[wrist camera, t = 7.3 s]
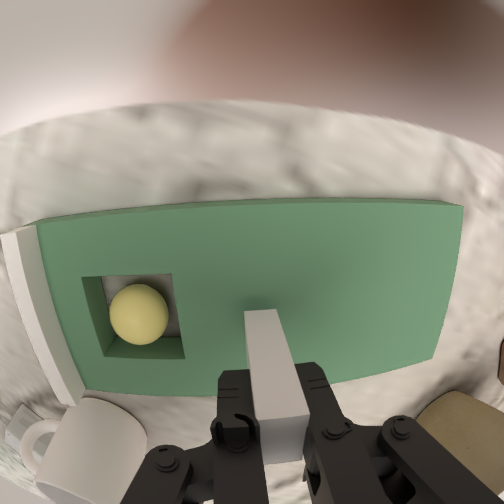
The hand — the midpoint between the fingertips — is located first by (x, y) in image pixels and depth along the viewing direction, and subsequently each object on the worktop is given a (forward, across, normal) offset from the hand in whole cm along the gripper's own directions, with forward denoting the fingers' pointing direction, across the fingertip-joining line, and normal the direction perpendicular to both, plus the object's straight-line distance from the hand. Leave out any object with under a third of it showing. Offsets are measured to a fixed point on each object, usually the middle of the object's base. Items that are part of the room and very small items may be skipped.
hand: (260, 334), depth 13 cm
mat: (+5, 0, 0) cm, 5 cm away
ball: (+3, -7, 0) cm, 7 cm away
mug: (+5, -16, -13) cm, 21 cm away
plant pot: (+5, +22, -19) cm, 29 cm away
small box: (+5, -26, -17) cm, 31 cm away
